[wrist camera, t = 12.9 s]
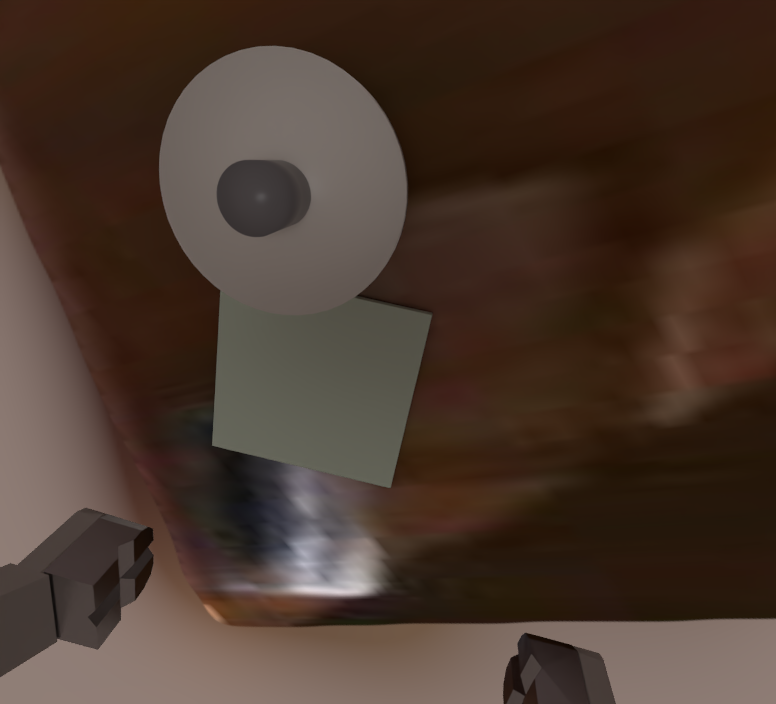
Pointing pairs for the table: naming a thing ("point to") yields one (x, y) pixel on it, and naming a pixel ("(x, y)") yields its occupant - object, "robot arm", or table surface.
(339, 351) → the mat
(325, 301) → the lid
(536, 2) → the table surface
